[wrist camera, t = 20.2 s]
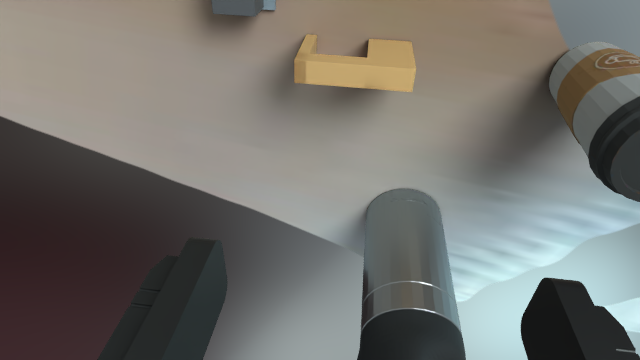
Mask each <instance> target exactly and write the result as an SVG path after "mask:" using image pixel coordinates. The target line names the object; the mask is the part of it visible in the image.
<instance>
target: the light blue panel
mask: <svg viewBox="0 0 640 360" xmlns="http://www.w3.org/2000/svg"><path fill="white" fill-rule="evenodd" d="M263 2H264V8H263V9H264V10H275V9H276V0H263Z"/></svg>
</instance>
